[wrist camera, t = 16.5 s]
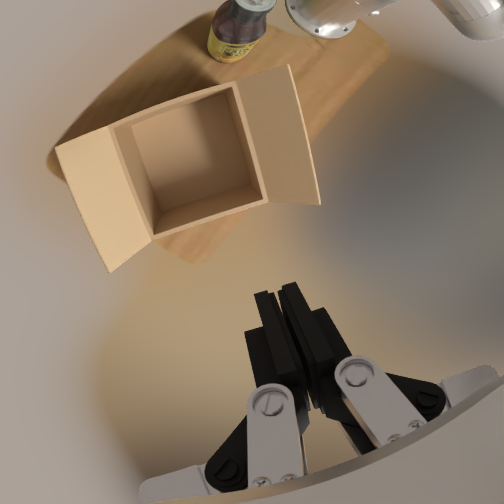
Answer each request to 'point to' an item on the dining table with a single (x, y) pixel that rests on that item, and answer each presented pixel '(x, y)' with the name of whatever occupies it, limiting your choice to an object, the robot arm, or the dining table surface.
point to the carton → (189, 160)
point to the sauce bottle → (237, 28)
